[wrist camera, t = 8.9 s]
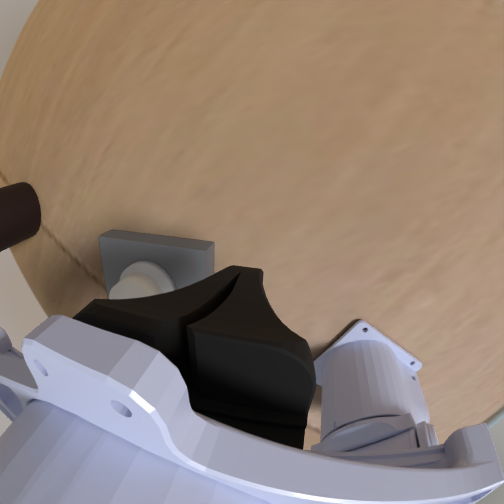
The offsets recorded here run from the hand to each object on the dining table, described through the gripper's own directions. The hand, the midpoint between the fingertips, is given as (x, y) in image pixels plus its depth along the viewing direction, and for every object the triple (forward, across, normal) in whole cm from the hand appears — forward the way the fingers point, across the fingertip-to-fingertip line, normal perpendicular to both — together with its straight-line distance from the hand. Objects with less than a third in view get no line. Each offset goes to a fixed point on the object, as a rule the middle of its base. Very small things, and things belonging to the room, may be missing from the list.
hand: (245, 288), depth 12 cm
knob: (+6, +9, +6) cm, 13 cm away
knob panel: (+9, +10, +12) cm, 18 cm away
